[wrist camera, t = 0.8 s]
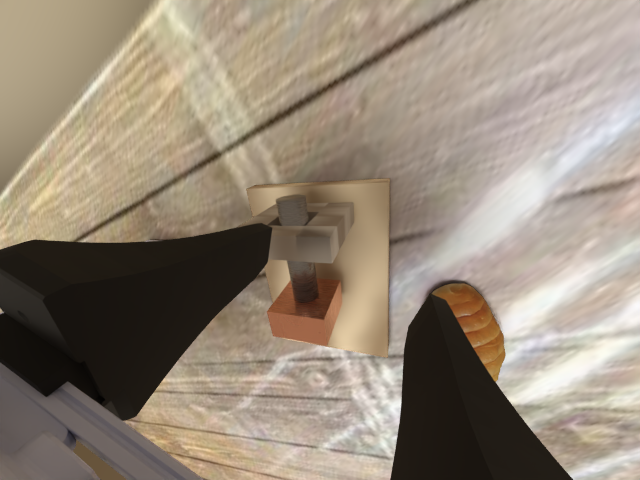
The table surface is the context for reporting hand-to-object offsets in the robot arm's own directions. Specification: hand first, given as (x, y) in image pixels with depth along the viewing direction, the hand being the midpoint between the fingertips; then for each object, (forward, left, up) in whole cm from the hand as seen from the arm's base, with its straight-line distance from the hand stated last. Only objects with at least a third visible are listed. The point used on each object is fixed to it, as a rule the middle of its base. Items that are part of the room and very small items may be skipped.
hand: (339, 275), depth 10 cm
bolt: (-5, -3, -8) cm, 10 cm away
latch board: (-5, -7, -11) cm, 13 cm away
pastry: (+7, -12, -11) cm, 18 cm away
